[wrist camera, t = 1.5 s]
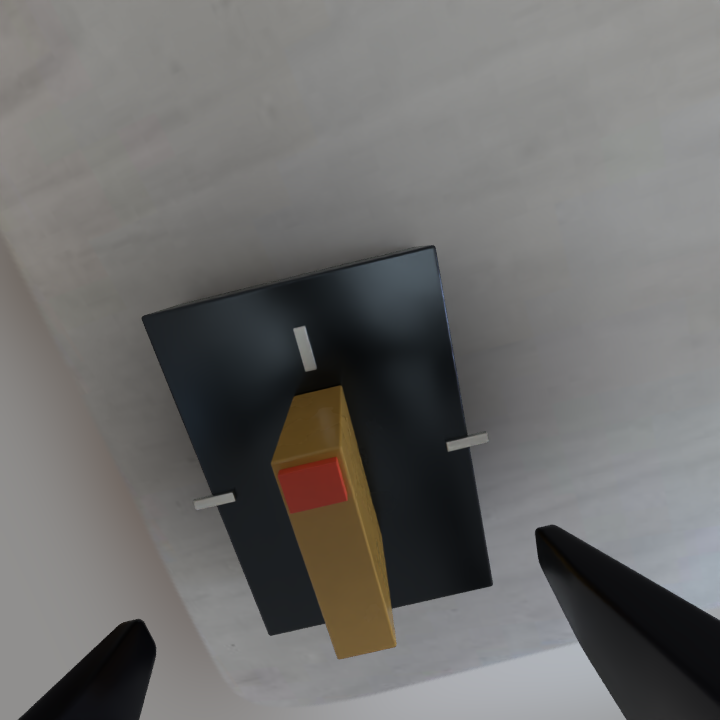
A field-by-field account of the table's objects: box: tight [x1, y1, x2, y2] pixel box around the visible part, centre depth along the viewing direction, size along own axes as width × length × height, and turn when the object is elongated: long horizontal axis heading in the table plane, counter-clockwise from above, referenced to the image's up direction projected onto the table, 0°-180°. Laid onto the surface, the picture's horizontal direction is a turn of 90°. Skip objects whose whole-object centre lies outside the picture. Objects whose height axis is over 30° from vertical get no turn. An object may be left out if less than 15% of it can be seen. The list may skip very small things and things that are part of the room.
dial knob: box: [271, 386, 397, 659], centre depth 11 cm, size 6×2×4 cm, turn 13°
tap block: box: [142, 245, 493, 636], centre depth 14 cm, size 13×10×3 cm
